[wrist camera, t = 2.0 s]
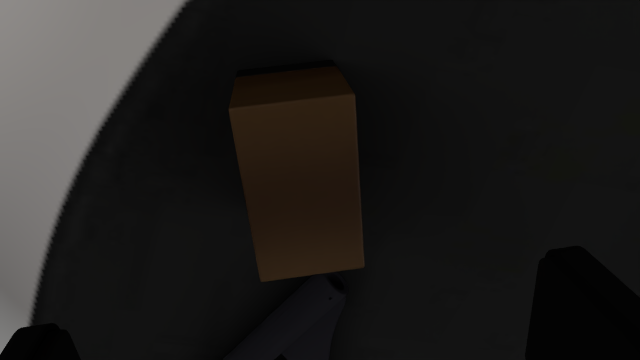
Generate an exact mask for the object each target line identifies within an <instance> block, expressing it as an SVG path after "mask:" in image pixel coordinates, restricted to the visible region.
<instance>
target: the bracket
mask: <svg viewBox="0 0 640 360" xmlns="http://www.w3.org/2000/svg"><path fill="white" fill-rule="evenodd" d="M348 292H349V288H348V285H347V283H346V281H345V280H344V279H343V277H342V276H341V275H340V274H339V273H338V272H329V273H322V274H315V275H312V276H311V277H310V278H309V279H307V280H306V281H305V282H304V283H303V284H302V285H301V286H300V287H299V288H298V289H297V290H296V291H295V292H294V293H293V294H292V295H290V296H289V297H288V298H287V299H286V300H285V301H284V302H283V303H282V304H281V305H280V306H279V307H278V308H277V309H276V310H274V311H273V312H272V313H271V314H270V315H269V316H268V317H267V318H266V319H265V320H264V321H263V322H262V323H261V324H260V325H259V326H257V327H256V328H255V329H254V330H253V331H252V332H251V333H250V334H249V335H248V336H247V337H246V338H245V339H244V340H243V341H241V342H240V343H239V344H238V345H237V346H236V347H235V348H234V349H233V350H232V351H231V352H230V353H229V354H228V355H227V356H226V357H224V358H223V359H222V360H274V359H275V358H277V357H278V356H279V355H280V354H282V355H283V356H284V357H285V358H286V359H287V360H329V354H330V346H331V341H332V336H333V333H334V329H335V327H336V324H337V321H338V319H339V316H340V314H341V311H342V309H343V307H344V305H345V302H346V295H347V294H348Z"/></svg>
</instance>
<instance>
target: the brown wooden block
mask: <svg viewBox="0 0 640 360" xmlns="http://www.w3.org/2000/svg"><path fill="white" fill-rule="evenodd" d="M228 111H229V116H230V121H231V127H232V132H233V137H234V143H235V148H236V153H237V159H238V164H239V170H240V175H241V180H242V186H243V191H244V196H245V202H246V207H247V212H248V218H249V223H250V228H251V234H252V239H253V245H254V250H255V255H256V261H257V266H258V271H259V277H260V281H261V282H266V281H273V280H280V279H287V278H294V277H301V276H308V275H315V274H322V273H329V272H337V271H344V270H351V269H358V268H363V267H364V265H365V264H364V246H363V228H362V209H361V191H360V173H359V154H358V136H357V118H356V99H355V94H354V92H353V91H352V89H351V88H350V86H349V84H348V83H347V81H346V80H345V78H344V77H343V75H342V73H341V72H340V70H339V69H338V67H337V66H336V64H335V63H334V61H333V60H327V61H318V62H309V63H301V64H292V65H283V66H274V67H265V68H257V69H248V70H239V71H237V75H236V79H235V83H234V88H233V92H232V97H231V101H230V106H229V110H228Z"/></svg>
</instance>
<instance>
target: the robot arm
mask: <svg viewBox="0 0 640 360" xmlns="http://www.w3.org/2000/svg"><path fill="white" fill-rule="evenodd" d="M525 357H526V360H640V298H639V297H638V296H637V295H636V294H635V293H634V292H633V291H631V290H630V289H629V288H628V287H627V286H626V285H625V284H624V283H622V282H621V281H620V280H619V279H618V278H617V277H616V276H615V275H613V274H612V273H611V272H610V271H609V270H608V269H607V268H606V267H604V266H603V265H602V264H601V263H600V262H599V261H598V260H597V259H595V258H594V257H593V256H592V255H591V254H590V253H589V252H588V251H586V250H585V249H584V248H582V247H580V246H572V247H565V248H559V249H552V250H549V251H548V252H547V253H546V256H545V258H542V259H541V260H540V261H539V264H538V271H537V278H536V285H535V291H534V298H533V305H532V312H531V319H530V325H529V332H528V339H527V346H526V353H525ZM0 360H81V359H80V357H79V355H78V352H77V350H76V348H75V346H74V343H73V341H72V339H71V336H70V334H69V333H68V331H66V330H60V329H59V327H58V326H57V325H56V324H53V323H50V324H43V325H36V326H30V327H23V328H20V329H18V330H17V331H16V332H15V333H14V334H13V336H12V338H11V339H10V340H9V342H8V343H7V345H6V346H5V348H4V350H3V351H2V353H1V354H0Z"/></svg>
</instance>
